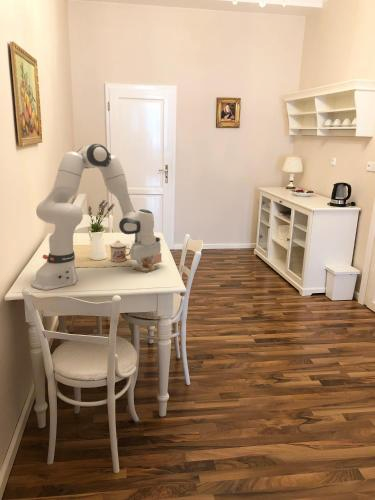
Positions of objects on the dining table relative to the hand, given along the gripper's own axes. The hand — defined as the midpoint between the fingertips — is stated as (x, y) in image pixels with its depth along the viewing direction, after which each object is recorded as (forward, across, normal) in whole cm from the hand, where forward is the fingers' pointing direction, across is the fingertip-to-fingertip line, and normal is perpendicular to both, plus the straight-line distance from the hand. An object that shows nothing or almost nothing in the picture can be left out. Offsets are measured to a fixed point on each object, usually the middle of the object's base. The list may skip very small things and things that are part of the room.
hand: (145, 264), depth 220 cm
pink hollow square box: (+2, +11, +8) cm, 14 cm away
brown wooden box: (+3, +38, +39) cm, 55 cm away
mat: (+2, 0, 0) cm, 2 cm away
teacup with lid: (+3, +2, +22) cm, 22 cm away
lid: (+2, 0, 0) cm, 2 cm away
